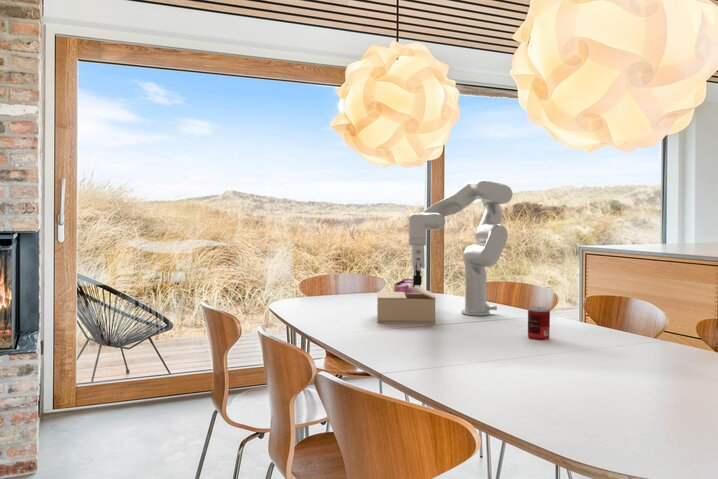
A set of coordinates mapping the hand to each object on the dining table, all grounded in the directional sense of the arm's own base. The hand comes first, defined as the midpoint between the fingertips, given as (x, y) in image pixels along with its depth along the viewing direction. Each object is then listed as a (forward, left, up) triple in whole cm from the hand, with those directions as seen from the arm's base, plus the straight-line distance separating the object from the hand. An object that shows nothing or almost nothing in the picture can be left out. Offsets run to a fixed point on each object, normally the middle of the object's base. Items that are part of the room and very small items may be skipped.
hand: (417, 284), depth 245 cm
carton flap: (-1, 0, -3) cm, 3 cm away
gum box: (+3, -25, -16) cm, 30 cm away
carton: (+5, 0, -15) cm, 16 cm away
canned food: (-42, +36, -16) cm, 57 cm away
